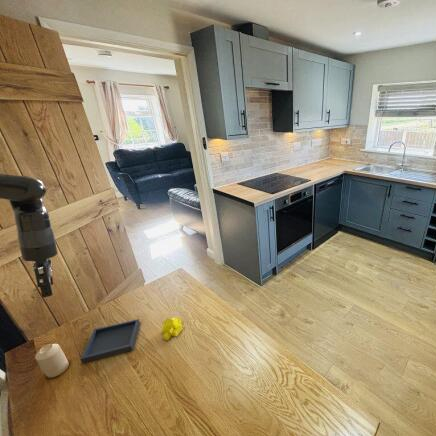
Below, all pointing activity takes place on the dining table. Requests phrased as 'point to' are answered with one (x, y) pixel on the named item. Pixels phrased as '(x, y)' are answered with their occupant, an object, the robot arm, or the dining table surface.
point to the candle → (52, 360)
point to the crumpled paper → (171, 328)
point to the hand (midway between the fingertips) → (48, 290)
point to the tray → (111, 341)
